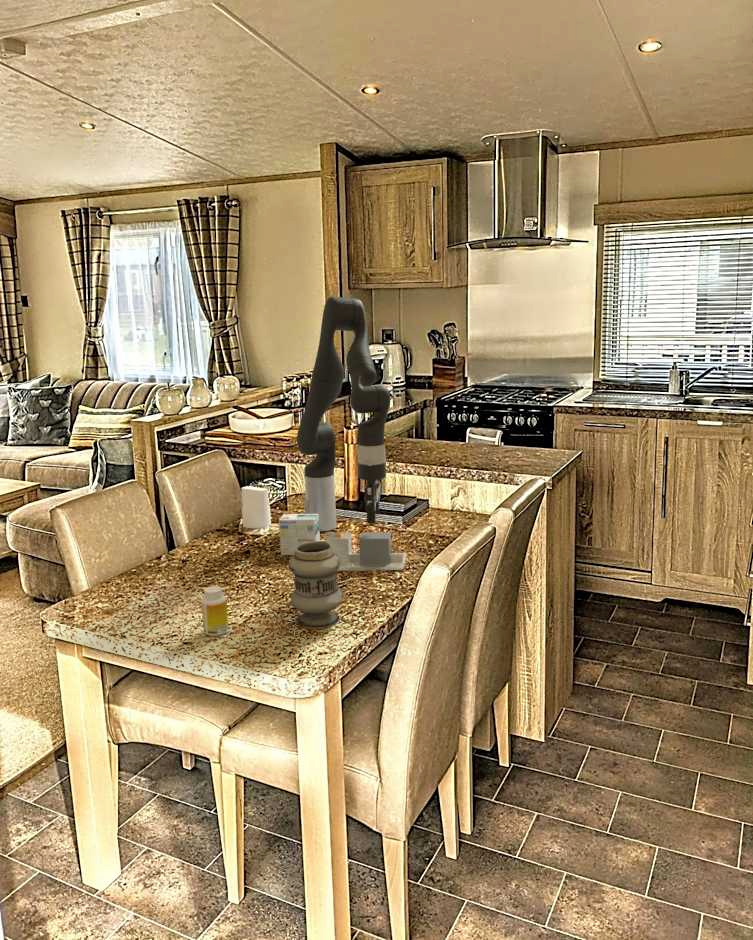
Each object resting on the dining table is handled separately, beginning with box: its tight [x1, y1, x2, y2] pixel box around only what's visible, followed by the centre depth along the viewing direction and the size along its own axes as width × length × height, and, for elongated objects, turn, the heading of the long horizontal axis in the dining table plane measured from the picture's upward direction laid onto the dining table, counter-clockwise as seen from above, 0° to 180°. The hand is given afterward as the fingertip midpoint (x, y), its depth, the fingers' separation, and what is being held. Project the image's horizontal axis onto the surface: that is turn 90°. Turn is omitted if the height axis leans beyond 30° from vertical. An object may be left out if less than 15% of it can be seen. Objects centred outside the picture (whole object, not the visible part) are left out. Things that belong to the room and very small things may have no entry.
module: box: [358, 531, 392, 564], centre depth 233 cm, size 8×6×7 cm
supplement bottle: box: [200, 585, 230, 637], centre depth 191 cm, size 6×6×10 cm
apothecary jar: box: [288, 540, 344, 630], centre depth 194 cm, size 12×12×18 cm
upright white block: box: [241, 485, 272, 529], centre depth 274 cm, size 9×9×12 cm
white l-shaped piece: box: [325, 531, 407, 572], centre depth 233 cm, size 22×12×9 cm, turn 84°
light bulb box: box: [278, 513, 321, 556], centre depth 245 cm, size 11×7×11 cm, turn 84°
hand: (373, 518), depth 231 cm, fingers open, 8 cm apart
